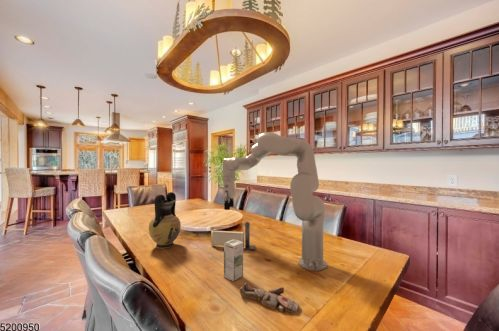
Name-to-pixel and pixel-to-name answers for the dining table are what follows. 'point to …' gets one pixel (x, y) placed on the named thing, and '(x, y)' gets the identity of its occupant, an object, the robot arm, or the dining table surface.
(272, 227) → the dining table surface
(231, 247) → the syrup box
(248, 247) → the gate post
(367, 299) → the dining table surface
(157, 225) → the amphora
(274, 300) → the figurine
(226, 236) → the gate leaf
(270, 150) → the robot arm
